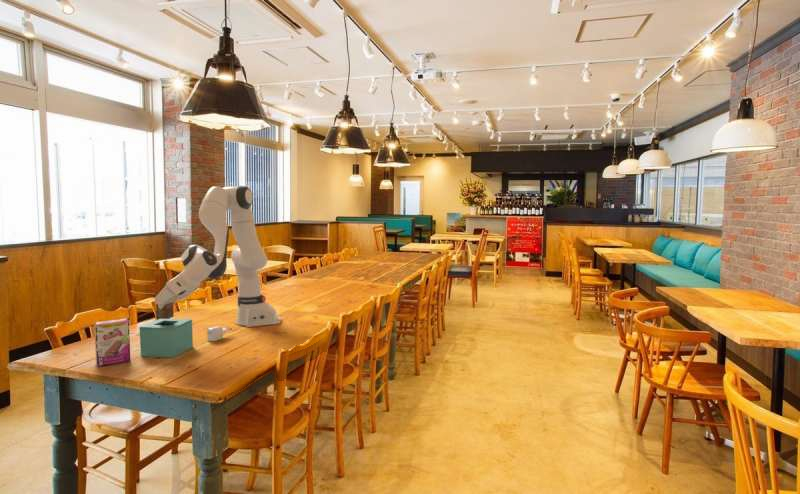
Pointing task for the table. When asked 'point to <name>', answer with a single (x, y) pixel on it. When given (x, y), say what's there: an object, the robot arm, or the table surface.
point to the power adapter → (216, 333)
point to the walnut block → (166, 311)
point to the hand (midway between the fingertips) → (164, 306)
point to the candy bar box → (112, 342)
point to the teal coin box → (166, 337)
